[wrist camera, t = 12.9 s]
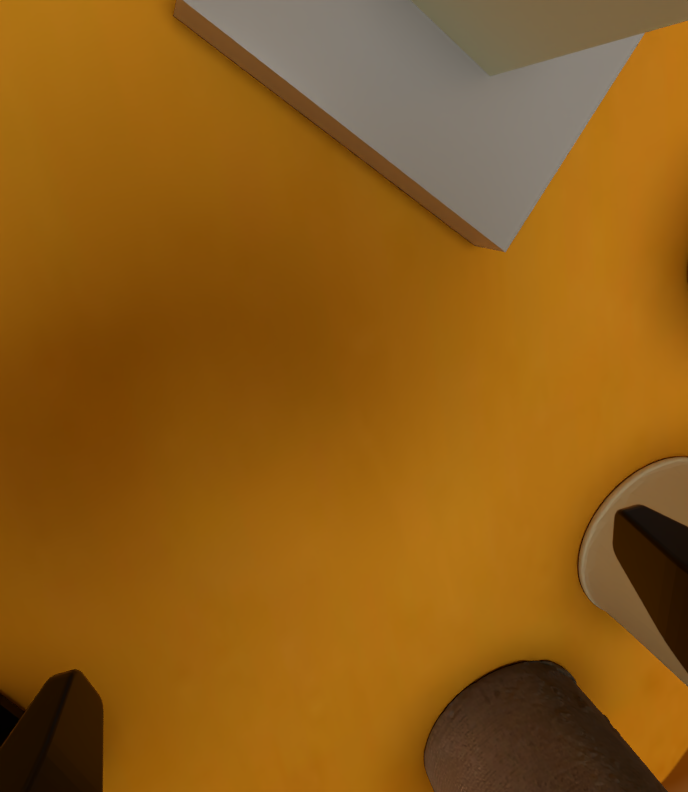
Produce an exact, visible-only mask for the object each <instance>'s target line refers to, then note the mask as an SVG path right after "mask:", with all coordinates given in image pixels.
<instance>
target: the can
mask: <svg viewBox="0 0 688 792" xmlns="http://www.w3.org/2000/svg"><path fill="white" fill-rule="evenodd" d="M636 504H641V505H644V506H647V507H649V508H651V509H653V510H655V511H657V512H659V513H661V514H663V515H665V516H667V517H669V518H671V519H673V520H675V521H678V522H680V523H682V524H684V525H686V526H688V457H674V458H668V459H664V460H660V461H657V462H655V463H653V464H650V465H648V466H646V467H644V468H642V469H640V470H639V471H637V472H636V473H634V474H633V475H631V476H630V477H629V478H627V479H626V480H625V481H623V482H622V483H621V484H620V485H619V486H618V487H617V488H616V489H615V490H614V491H613V492H612V493H611V494H610V495H609V496H608V497H607V499H606V500H605V501H604V502H603V504H602V505H601V506H600V508H599V509H598V511H597V512H596V513H595V515H594V517H593V519H592V520H591V522H590V524H589V526H588V528H587V530H586V533H585V536H584V538H583V541H582V545H581V549H580V553H579V562H578V569H579V578H580V582H581V585H582V588H583V590H584V592H585V594H586V595H587V597H588V598H589V599H590V600H591V601H592V602H593V603H594V604H595V605H596V606H597V607H599V608H600V609H602V610H604V611H606V612H607V613H608V614H609V615H611V616H612V617H613V618H614V619H615V620H616V621H617V622H619V623H620V624H621V625H622V626H623V627H624V628H625V629H626V630H627V631H629V632H630V633H631V634H632V635H633V636H634V637H635V638H636V639H637V640H638V641H639V642H640V643H642V644H643V645H644V646H645V647H646V648H647V649H648V650H649V651H650V652H651V653H652V654H654V655H655V656H656V657H657V658H658V659H659V660H660V661H661V662H662V663H663V664H664V665H665V666H666V667H667V668H669V669H670V670H671V671H672V672H673V673H674V674H675V675H676V676H677V677H678V678H679V679H680V680H681V681H682V682H683V683H685V684H686V685H687V686H688V673H687V672H686V671H685V669H684V668H683V666H682V665H681V664H680V662H679V661H678V660H677V658H676V657H675V655H674V654H673V652H672V651H671V650H670V648H669V647H668V645H667V644H666V642H665V641H664V639H663V637H662V636H661V634H660V633H659V631H658V629H657V628H656V626H655V624H654V622H653V621H652V619H651V617H650V615H649V614H648V612H647V610H646V608H645V607H644V605H643V603H642V601H641V600H640V598H639V596H638V594H637V593H636V591H635V589H634V587H633V586H632V584H631V582H630V580H629V579H628V577H627V575H626V573H625V572H624V570H623V568H622V566H621V565H620V563H619V561H618V560H617V558H616V556H615V553H614V550H613V545H612V540H613V527H614V516H615V513H616V511H617V510H619V509H622V508H625V507H629V506H632V505H636Z"/></svg>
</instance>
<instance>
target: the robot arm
mask: <svg viewBox="0 0 688 792" xmlns="http://www.w3.org/2000/svg"><path fill="white" fill-rule="evenodd" d="M612 545H613V550H614V553H615V556H616V558H617V560H618V561H619V563H620V565H621V566H622V568H623V570H624V572H625V573H626V575H627V577H628V579H629V580H630V582H631V584H632V586H633V587H634V589H635V591H636V593H637V594H638V596H639V598H640V600H641V601H642V603H643V605H644V607H645V608H646V610H647V612H648V614H649V615H650V617H651V619H652V621H653V622H654V624H655V626H656V628H657V629H658V631H659V633H660V634H661V636H662V637H663V639H664V641H665V642H666V644H667V645H668V647H669V648H670V650H671V651H672V652H673V654H674V655H675V657H676V658H677V660H678V661H679V662H680V664H681V665H682V666H683V668H684V669H685V671H686V672H687V673H688V526H686V525H684V524H682V523H680V522H678V521H675V520H673V519H671V518H669V517H667V516H665V515H663V514H661V513H659V512H657V511H655V510H653V509H651V508H649V507H647V506H644V505H641V504H636V505H632V506H629V507H625V508H622V509H619V510H617V511H616V513H615V516H614V527H613V540H612ZM0 792H103V704H102V700H101V698H100V696H99V694H98V693H97V691H96V690H95V689H94V688H93V686H92V685H91V684H90V682H89V681H88V680H87V678H86V677H85V676H84V674H83V673H82V672H81V671H79V670H77V669H73V670H70V671H66V672H63V673H59V674H56V675H54V676H52V677H50V678H49V679H48V680H47V682H46V683H45V684H44V686H43V687H42V688H41V690H40V691H39V693H38V694H37V696H36V697H35V699H34V700H33V701H32V703H31V704H30V706H29V707H28V709H27V710H26V712H23V711H22V710H21V709H19V708H18V707H17V706H15V705H14V704H13V703H12V702H10V701H9V700H8V699H6V698H5V697H4V696H2V695H0Z"/></svg>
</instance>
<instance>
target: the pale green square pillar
mask: <svg viewBox="0 0 688 792" xmlns="http://www.w3.org/2000/svg"><path fill="white" fill-rule="evenodd" d="M411 1H412V2H413V3H414V4H415V5H416V6H417V7H418V8H419V9H420V10H421V11H422V12H424V13H425V14H426V15H427V16H428V17H429V18H430V19H431V20H432V21H433V22H434V23H435V24H436V25H437V26H438V27H439V28H440V29H441V30H442V31H443V32H444V33H445V34H446V35H448V36H449V37H450V38H451V39H452V40H453V41H454V42H455V43H456V44H457V45H458V46H459V47H460V48H461V49H462V50H463V51H464V52H465V53H466V54H467V55H468V56H469V57H471V58H472V59H473V60H474V61H475V62H476V63H477V64H478V65H479V66H480V67H481V68H482V69H483V70H484V71H485V72H486V73H487V74H488V75H489V76H493V75H497V74H500V73H504V72H507V71H511V70H514V69H518V68H521V67H525V66H528V65H532V64H535V63H539V62H543V61H546V60H550V59H553V58H557V57H560V56H564V55H567V54H571V53H574V52H578V51H581V50H585V49H589V48H592V47H596V46H599V45H603V44H606V43H610V42H613V41H617V40H620V39H624V38H627V37H631V36H634V35H638V34H642V33H645V32H649V31H652V30H656V29H659V28H663V27H666V26H670V25H673V24H677V23H680V22H684V21H687V20H688V0H411Z"/></svg>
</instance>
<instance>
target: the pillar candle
mask: <svg viewBox="0 0 688 792" xmlns="http://www.w3.org/2000/svg"><path fill="white" fill-rule="evenodd" d="M424 760H425V769H426V773H427V775H428V777H429V780H430V782H431V785H432V787H433V790H434V792H668V791H667V790H666V789H665V788H664V787H663V786H662V784H661V783H660V782H659V781H658V780H657V778H656V777H655V776H654V775H653V774H652V772H651V771H650V770H649V769H648V767H647V766H646V765H645V764H644V763H643V762H642V760H641V759H640V758H639V757H638V756H637V754H636V753H635V752H634V751H633V750H632V748H631V747H630V746H629V745H628V744H627V743H626V741H625V740H624V739H623V738H622V737H621V736H620V734H619V732H618V731H617V730H616V729H614V728H613V726H612V725H611V724H610V721H609V720H608V718H607V717H606V716H605V715H603V714H602V713H601V712H600V711H599V710H598V709H597V708H596V706H595V705H594V704H593V703H592V702H591V700H590V699H589V698H588V697H587V696H586V695H585V694H584V693H583V692H582V691H581V689H580V688H579V687H578V686H577V685H576V681H575V679H574V678H573V677H572V675H571V674H570V673H569V672H568V671H567V670H565V669H564V668H562V667H561V666H559V665H557V664H555V663H552V662H545V661H531V662H523V663H518V664H515V665H512V666H507V667H504V668H502V669H499V670H497V671H495V672H493V673H491V674H489V675H487V676H485V677H483V678H482V679H480V680H479V681H478V682H476V683H473V684H471V685H470V686H469V687H467V688H466V689H465V690H464V691H462V692H461V693H460V694H459V695H458V696H457V697H456V698H455V699H454V700H453V701H452V703H451V704H449V705H448V707H447V708H446V710H445V711H444V712H443V713H442V714H441V715H440V717H439V718H438V720H437V722H436V724H435V725H434V727H433V729H432V731H431V733H430V735H429V738H428V742H427V745H426V749H425V756H424Z"/></svg>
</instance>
